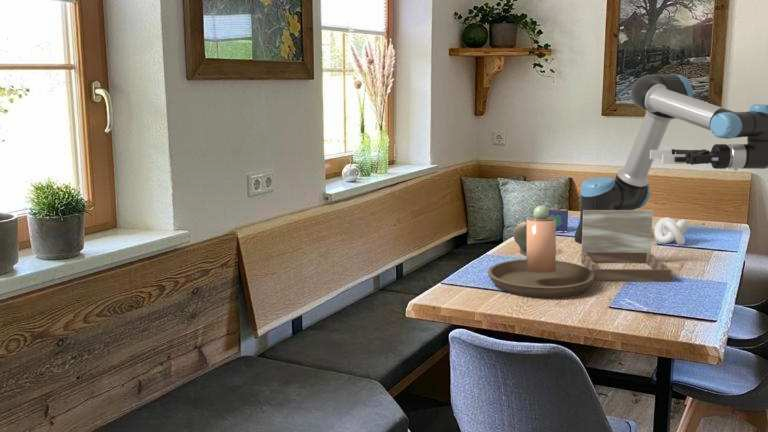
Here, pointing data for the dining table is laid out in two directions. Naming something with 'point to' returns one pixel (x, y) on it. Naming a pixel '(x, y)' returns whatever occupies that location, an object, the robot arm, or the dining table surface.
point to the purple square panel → (559, 218)
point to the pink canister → (541, 242)
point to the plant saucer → (541, 279)
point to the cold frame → (620, 245)
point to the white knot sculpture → (670, 230)
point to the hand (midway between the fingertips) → (656, 156)
